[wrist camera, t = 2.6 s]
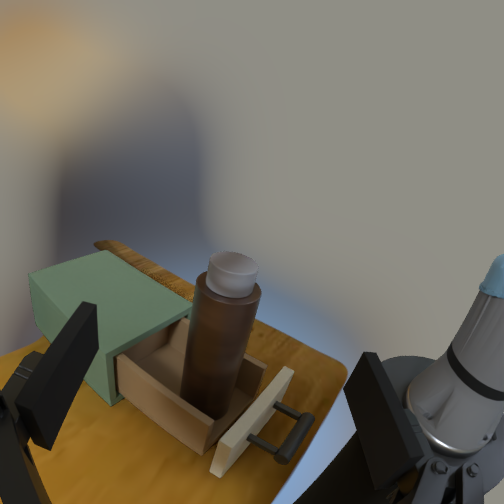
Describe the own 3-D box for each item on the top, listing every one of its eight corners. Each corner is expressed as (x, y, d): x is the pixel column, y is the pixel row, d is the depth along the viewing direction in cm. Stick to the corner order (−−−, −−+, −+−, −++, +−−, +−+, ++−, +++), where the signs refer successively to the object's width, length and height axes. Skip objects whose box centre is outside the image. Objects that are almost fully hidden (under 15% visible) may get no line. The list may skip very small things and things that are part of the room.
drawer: (311, 424, 30) (332, 389, 28) (261, 502, 21) (281, 475, 18) (170, 341, 38) (174, 303, 36) (99, 385, 28) (95, 344, 26)
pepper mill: (237, 402, 30) (279, 265, 24) (209, 430, 26) (245, 287, 20) (199, 378, 32) (225, 242, 26) (168, 402, 28) (186, 257, 22)
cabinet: (187, 354, 38) (194, 304, 35) (111, 406, 27) (105, 354, 24) (105, 295, 45) (106, 249, 42) (35, 324, 34) (27, 273, 31)
